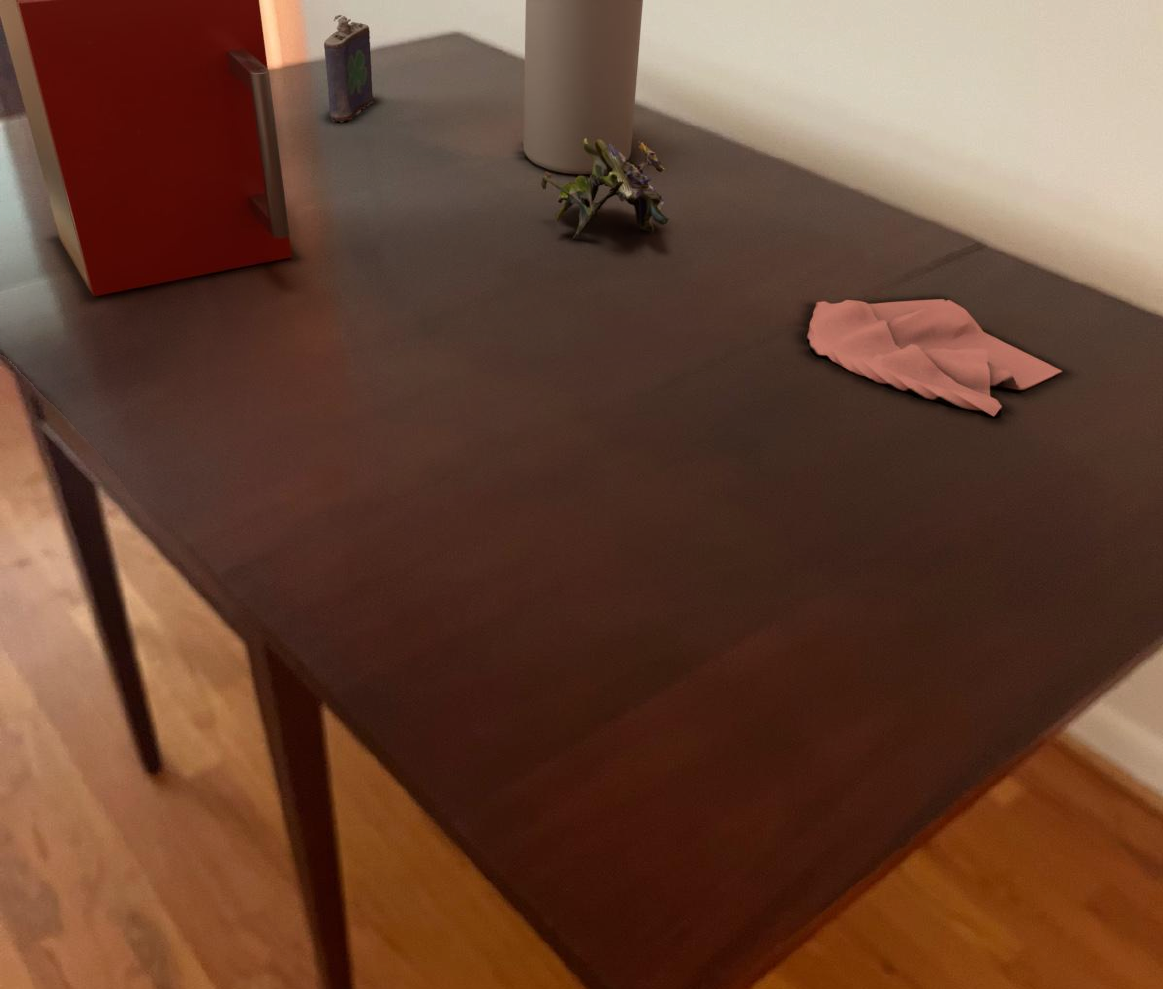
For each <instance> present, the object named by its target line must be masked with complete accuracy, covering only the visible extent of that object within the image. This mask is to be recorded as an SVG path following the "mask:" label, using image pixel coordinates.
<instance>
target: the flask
mask: <svg viewBox="0 0 1163 989" xmlns="http://www.w3.org/2000/svg"><path fill="white" fill-rule="evenodd" d="M336 20H337V22H338V24H337V26H336V31H335V32H333V34H331V35H329V37H327V38H326V40H325V41H324V43H323V48H324V58H325V69H326V81H327V90H328V104H329V117H330V120H331V121H332V122H334V123H336V122H340V123H342V124H343V123H344V122H346V121H351V120H353V118H354V116H357V115H359V114H360V113H361V112H362V109H363V110H365V109H366V107H369V106H370V105H372V104H374V96H373V94H374V93H373V80H372V79H373V78H372V76H373V74H372V57H371V55H372V54H371V40H370V39H371V35H370V34H371V32H370V31H371V30H370V27H369V25H368V24H365V23H362V22H355V21H352V22H351V18H347V16H346V15H342V14H338V15H336V16H334V18H333V21H334V22H336Z"/></svg>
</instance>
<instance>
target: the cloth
mask: <svg viewBox="0 0 1163 989" xmlns="http://www.w3.org/2000/svg"><path fill="white" fill-rule="evenodd" d="M806 339H807V340H809V347H810V348H811V350H812V351H813V352H814V353H815V354H816V356H823V357H825V356H826V357H827V358H829V360H831V361H832V362H833V363H835V364H837V365H838V366H841V367H842V368H845V369H846V370H847V371H849V372H851V373H853V374H855V375H859V376H862V377H866V378H868V379H869V380H871V381H873V382H874V383H877V384H882V385H887V386H892V388H894V389H896V390H899V391H902V392H906V393H911V394H918V395H919V396H921V397H923V398H924V399H927V400H931V401H934V402H943V403H947V404H951V405H954V406H957V407H959V408H962V409H963V410H970V411H979V412H985V413H987V414H988V415H990V416H992V417H995V416H996V415H997V414H998V412H999V411H1000V410H1001V409H1002V407H1003V405H1002V404H1001V403H1000V402H999V400H998V399H997V398H995V397H992V396H991V387H999V388H1005V389H1011V390H1018V391H1025V390H1027V389H1029V388H1032V387H1034V386H1036V385H1038V384H1041V383H1043V382H1045V381H1047V380H1049V379H1052V378H1053V377H1055V376H1057V375H1060V374H1061V373H1062V372H1063V370H1061V369H1059V368H1057V367H1055V366H1054V365H1051V364H1049V363H1047V362H1045V361H1043V360H1041V359H1040V358H1037V357H1036V356H1033V355H1031V354H1029V353H1027V352H1025V351H1023V350H1021V349H1019V348H1017V347H1015V346H1013V345H1011V344H1009V343H1006V342H1004V341H1002V340H1001V339H999V338H997V337H995V336H993V335H991V334H989V333H987V332H984V331H983V329H982V328H981V327H980V325H979V323H978V322H977V321H976V320H975V318H974V317H973V316H972V315H971V314H970V313H969V312H968V311H967V310H966V309H965V308H964V307H962V306H961V305H959V304H957V303H955V302H954V301H952V300H951V299H947V300H945V299H944V298H939V299H937V298H936V299H918V300H903V301H901V300H900V301H887V302H878V303H877V302H876V303H868V302H867V301H861V300H852V299H845V300H843V301H841V302H836V303H830V302H828V301H826V300H822V301H818V302H817V301H816V302H815V307H814V309H813V311H812V317H811V319H810V322H809V328H808V333H807V334H806Z"/></svg>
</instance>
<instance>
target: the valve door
mask: <svg viewBox="0 0 1163 989" xmlns="http://www.w3.org/2000/svg"><path fill="white" fill-rule="evenodd" d="M16 2H17V6H18V10H19V14H20V18H21V22H22V25H23V29H24V33H25V37H26V41H27V45H28V49H29V53H30V57H31V60H32V64H33V68H34V72H35V76H36V80H37V84H38V88H39V91H40V95H41V99H42V103H43V107H44V111H45V115H46V119H47V123H48V126H49V130H50V134H51V138H52V142H53V146H54V150H55V154H56V158H57V161H58V165H59V169H60V173H61V177H62V181H63V185H64V189H65V193H66V196H67V200H68V204H69V208H70V212H71V216H72V220H73V224H74V227H75V231H76V235H77V239H78V243H79V247H80V251H81V255H82V259H83V262H84V266H85V270H86V274H87V278H88V282H89V286H90V290H91V292H90V293H91V295H92V297H98V296H103V295H104V296H105V295H108V294H113V293H119V292H123V291H128V290H133V289H138V288H144V287H148V286H154V285H159V284H164V283H169V282H175V281H179V280H184V279H189V278H194V277H200V276H204V275H209V274H214V273H219V272H225V271H230V270H234V269H238V268H245V267H249V266H254V265H259V264H265V263H269V262H275V261H280V260H285V259H291V258H292V256H293V255H292V249H291V242H290V241H291V240H290V228H289V220H288V212H287V211H288V210H287V205H286V195H285V188H284V180H283V172H282V164H281V156H280V148H279V141H278V133H277V126H276V125H277V123H276V116H275V108H274V100H273V92H272V86H271V84H272V83H271V77H270V76H271V75H270V70H269V68H268V60H267V51H266V44H265V43H266V42H265V36H264V27H263V21H262V12H261V5H260V0H16ZM90 290H89V291H90Z"/></svg>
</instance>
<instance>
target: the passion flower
mask: <svg viewBox="0 0 1163 989" xmlns="http://www.w3.org/2000/svg"><path fill="white" fill-rule="evenodd" d="M608 143H609V148H608V147H607V146H606V145H605V143H604V142H603V141H602V140H598V139H597V141H596V142H595V147H596V149H595V148H593V147H592V146H591V145H589V144H588V142H587V138H586V139H584V141H583V144H584V149H585V151H586V152H587V153H588V154H589V155H590V156H591V157H592V159H593V162H594V166H593V173H592V174H589V178H588V177H587V176H585V175H578V176H577V177H576V178H575V179H574V180H573V181H567V182H565V184H563V185H562V186H560V185H558V184H557V183H556V182H554V180H551V179H550V178H551V177H552V174H551V173H550V172H548V171H545V172H543V176H542V179H541V180H542V181H541V182H540V185H541V188H542V190H546V189H547V184H548V183H550V184H551V185H553V186H554V187H555V188H556V189H558V190H560V192H559V196H558V199H557V202H558V203H559V204H562V203H563V201H565V202H564V204H563V206H562V208H560V209H559V211H558V212H557V214H556V219H555V222H556V223H558V222H559V220H561V218H562V217H563V215H564V214H565V213H566V212H567V211H568V209H570V208H571V207H573V205H574V204H577V205H578V206H579V215H578V224H577V225H578V226H577V229H576V231H575V234H574V235H573V237H572V239H573V240H575V239H576V238H577V237H578V236H579V235H580V233H581V231H582V230H583V229H584V228H585V226H586V227H587V226H588V225H589V224H590V223H591V222H593V221H594V220H595V218H596V217H597V216H598V215H597V213H598V211H599V210H600V209H601V208H602V207H603V205H604V204H605V203H606V201H607V200H609V199H610V198H612V197H614V196H618V199H619V201H621V202H624V201H626V202H627V203H628V205H631V206H633V207H634V211H635V218H636V219H635V220H636V223H637V225H638V226H639V229H640V230H643V231H647V232H650V233H651V234H653V233H654V232H655V229H654V227H653V224H652V219H653V220H654V221H655V222H656V223H657V224H658V225H661V226H664V225H666V224H668V221H669V220H670V218H669V217H668V216H667V215H665V213H663V212H662V211H661V210H662V208H663V207H664V205H665V202H664V199H663V198H662V194H660V193H659V191H658V190H655V189H654V187H653V186H651V185H650V183H649V182H652V178H650V177H647V175H644V172H643V170H644V169H645V167H648V166H652V167H654V169H655V170H656V171H657V172H659V173H663V171H664V172H665V171H666V169H665V168H664V167H663V165H662V163H661V161H660V159H659V158H658V157H657V155H656V152H655V151H654V150H652V149H651V147H649V146H648V145H647V144H646V143H644V142H642V141H641V140H638V141H637V142H636V143H637V147H638V148H639V150H640V151H641V153H642V155H643V156H644V160H643V161H642V163H640V164H632V163H631V162H630V161H629V159H628V160H627V159H626V158H625V157H624V156H623V155H622V154H621V153H620V152H618V151H617V149H616V148H615V146H612V145H611V143H610V142H608ZM603 185H604V186H605V187H608V188H610V189H609V192H608V193H607V194H606V195H605V196H604V197H603V198H601V199H600V200H599V201H598V202H595V199H596V197H597V194H598V191H599V189H600V188H599V187H600V186H603Z"/></svg>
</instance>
